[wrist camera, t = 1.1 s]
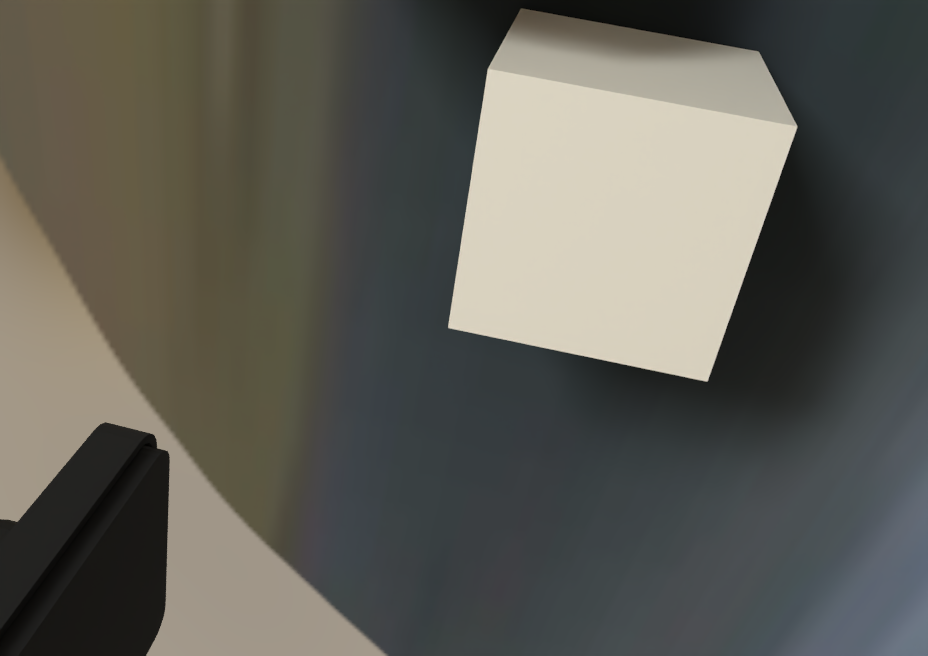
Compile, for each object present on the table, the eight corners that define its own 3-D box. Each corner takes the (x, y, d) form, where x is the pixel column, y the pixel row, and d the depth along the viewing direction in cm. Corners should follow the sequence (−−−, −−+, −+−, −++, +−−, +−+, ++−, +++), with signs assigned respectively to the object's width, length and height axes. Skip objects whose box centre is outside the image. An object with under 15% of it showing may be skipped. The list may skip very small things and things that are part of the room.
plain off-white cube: (758, 51, 25) (797, 126, 19) (691, 263, 29) (707, 381, 23) (521, 7, 26) (487, 68, 20) (485, 222, 29) (447, 327, 24)
